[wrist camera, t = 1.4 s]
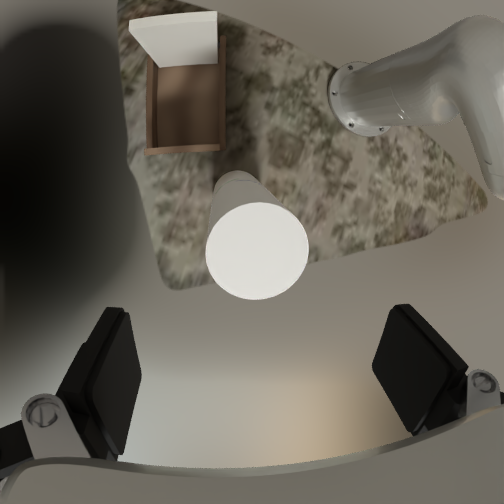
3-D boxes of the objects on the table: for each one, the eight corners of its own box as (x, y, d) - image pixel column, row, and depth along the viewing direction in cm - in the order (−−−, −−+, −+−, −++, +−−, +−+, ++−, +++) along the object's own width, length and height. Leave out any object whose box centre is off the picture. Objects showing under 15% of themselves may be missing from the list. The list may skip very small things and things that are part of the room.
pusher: (217, 56, 35) (217, 11, 20) (217, 63, 35) (216, 21, 21) (159, 60, 34) (129, 20, 19) (159, 67, 35) (128, 30, 20)
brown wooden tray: (225, 44, 35) (227, 23, 27) (225, 149, 41) (226, 150, 33) (154, 49, 34) (140, 30, 26) (153, 153, 40) (138, 156, 32)
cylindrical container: (260, 217, 45) (303, 297, 22) (213, 217, 44) (207, 300, 21) (261, 170, 43) (312, 203, 19) (213, 170, 42) (204, 202, 19)
